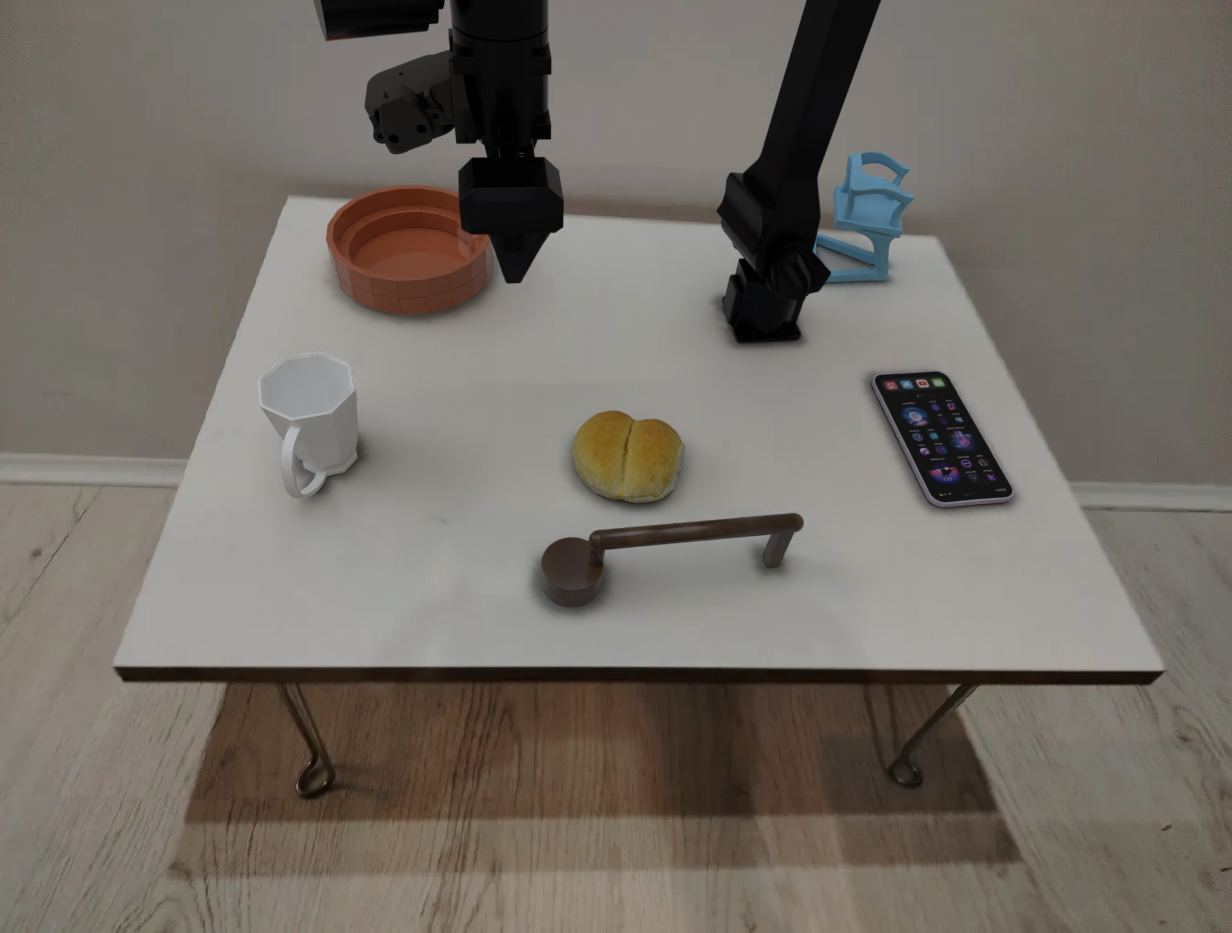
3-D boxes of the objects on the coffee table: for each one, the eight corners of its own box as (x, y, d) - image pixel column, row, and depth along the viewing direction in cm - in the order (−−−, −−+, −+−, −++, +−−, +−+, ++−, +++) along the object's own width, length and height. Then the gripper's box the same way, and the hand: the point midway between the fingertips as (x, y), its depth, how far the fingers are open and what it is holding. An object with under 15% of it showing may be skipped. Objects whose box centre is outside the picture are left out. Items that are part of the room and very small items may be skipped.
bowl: (488, 222, 83) (486, 183, 80) (497, 315, 74) (496, 277, 70) (340, 225, 81) (331, 186, 77) (331, 322, 71) (320, 283, 68)
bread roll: (585, 417, 67) (588, 384, 64) (687, 442, 66) (695, 410, 63) (557, 491, 61) (558, 458, 58) (667, 519, 61) (674, 488, 57)
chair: (887, 295, 81) (933, 191, 71) (808, 282, 81) (843, 176, 72) (883, 251, 86) (925, 148, 76) (808, 239, 86) (841, 135, 77)
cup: (385, 426, 64) (368, 354, 58) (351, 526, 58) (329, 458, 52) (299, 418, 64) (273, 345, 58) (256, 517, 58) (222, 447, 51)
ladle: (777, 535, 60) (796, 491, 56) (794, 584, 58) (815, 542, 53) (538, 557, 57) (538, 512, 53) (544, 610, 55) (544, 568, 50)
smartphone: (945, 369, 73) (1019, 497, 64) (942, 373, 73) (1015, 501, 64) (869, 373, 72) (934, 504, 63) (867, 378, 72) (931, 509, 63)
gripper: (369, -43, 51) (403, 175, 63) (347, 97, 39) (394, 331, 52) (540, -38, 52) (541, 174, 64) (567, 98, 41) (562, 325, 53)
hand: (509, 243), depth 58 cm, fingers open, 9 cm apart
